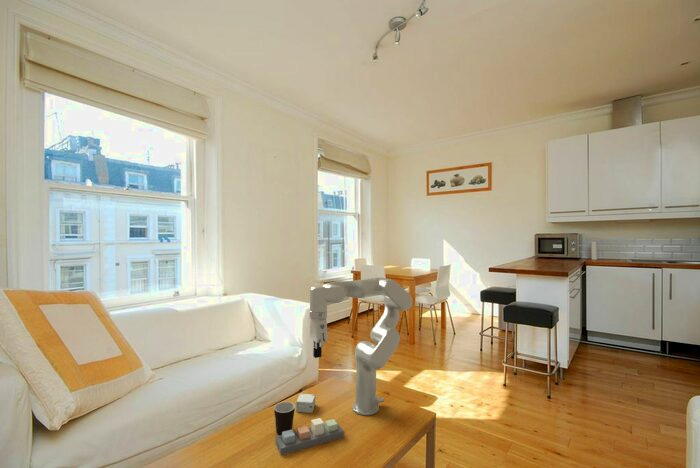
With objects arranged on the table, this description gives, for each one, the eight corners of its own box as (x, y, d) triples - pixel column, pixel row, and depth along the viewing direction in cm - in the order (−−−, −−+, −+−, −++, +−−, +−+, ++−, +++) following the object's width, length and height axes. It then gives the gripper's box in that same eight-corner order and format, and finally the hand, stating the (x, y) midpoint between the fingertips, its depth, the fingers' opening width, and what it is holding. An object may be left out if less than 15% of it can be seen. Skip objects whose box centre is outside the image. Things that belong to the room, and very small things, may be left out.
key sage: (333, 429, 136) (333, 418, 136) (337, 434, 132) (337, 423, 132) (324, 432, 134) (324, 421, 134) (328, 437, 130) (328, 426, 130)
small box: (295, 412, 149) (295, 401, 149) (299, 403, 157) (300, 393, 157) (312, 413, 149) (312, 402, 149) (315, 404, 156) (315, 394, 156)
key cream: (320, 428, 133) (320, 417, 133) (323, 434, 129) (324, 422, 129) (310, 431, 131) (311, 420, 131) (314, 436, 127) (314, 425, 128)
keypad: (335, 426, 138) (335, 420, 138) (343, 437, 131) (343, 431, 131) (275, 442, 126) (275, 436, 127) (280, 455, 119) (280, 448, 119)
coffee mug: (289, 438, 129) (290, 413, 130) (269, 435, 131) (270, 410, 131) (300, 422, 141) (300, 399, 141) (281, 420, 142) (282, 397, 143)
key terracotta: (306, 437, 130) (306, 425, 130) (309, 442, 127) (309, 431, 127) (296, 439, 128) (296, 428, 128) (299, 445, 125) (300, 433, 125)
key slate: (291, 440, 127) (292, 429, 127) (294, 446, 124) (295, 435, 124) (281, 443, 126) (282, 432, 126) (284, 449, 122) (284, 437, 122)
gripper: (333, 317, 136) (332, 361, 135) (320, 310, 149) (319, 350, 149) (316, 319, 132) (315, 364, 132) (304, 311, 146) (303, 352, 145)
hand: (317, 356), depth 140 cm, fingers closed
